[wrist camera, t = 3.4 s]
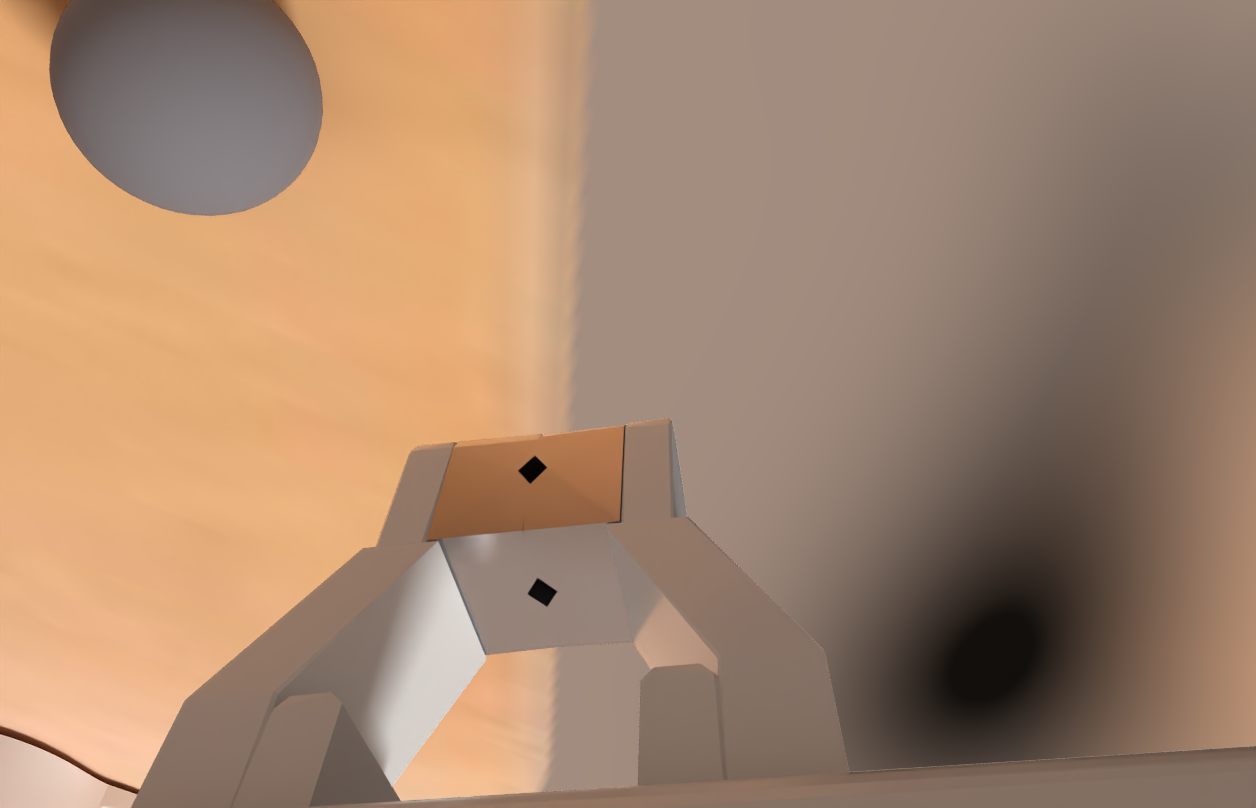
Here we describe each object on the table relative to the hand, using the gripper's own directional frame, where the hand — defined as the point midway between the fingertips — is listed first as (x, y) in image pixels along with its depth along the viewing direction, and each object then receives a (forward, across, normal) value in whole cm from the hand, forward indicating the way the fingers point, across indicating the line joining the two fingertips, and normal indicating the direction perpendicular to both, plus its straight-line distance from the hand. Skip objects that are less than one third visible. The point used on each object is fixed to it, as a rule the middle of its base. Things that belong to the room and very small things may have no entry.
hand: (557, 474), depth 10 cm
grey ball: (+12, +9, -2) cm, 15 cm away
